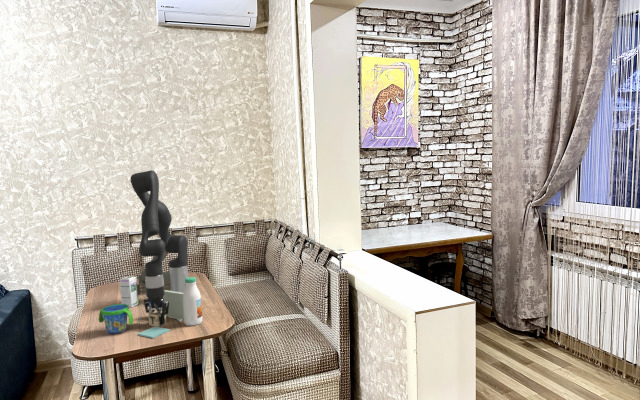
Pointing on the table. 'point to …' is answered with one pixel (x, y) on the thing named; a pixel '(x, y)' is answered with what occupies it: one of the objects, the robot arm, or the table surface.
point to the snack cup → (115, 317)
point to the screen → (174, 304)
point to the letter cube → (155, 319)
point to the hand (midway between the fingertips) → (157, 323)
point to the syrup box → (129, 291)
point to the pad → (153, 332)
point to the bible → (142, 278)
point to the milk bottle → (192, 303)
